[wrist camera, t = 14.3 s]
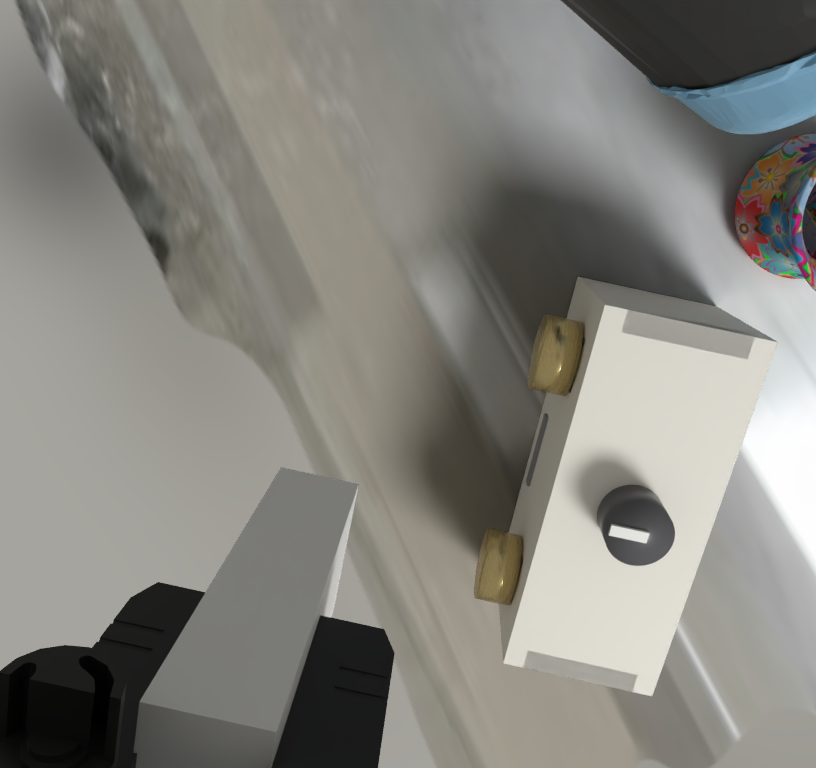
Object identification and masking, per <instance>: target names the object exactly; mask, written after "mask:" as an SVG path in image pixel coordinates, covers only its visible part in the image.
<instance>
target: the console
mask: <svg viewBox="0 0 816 768" xmlns="http://www.w3.org/2000/svg"><path fill="white" fill-rule="evenodd" d="M567 319H571V320H576V321H581V322H582V325H583V339H582V342H585V343H584V346H583V350H582V353H581V357H580V360H579V364H578V368H577V371H576V375H575V378H574V379H573V382H572V384H571V387H570V389H569V391H568V392H567V394H566V395H565V396H560V395H555V394H551V393H546V396H545V400H544V404H543V407H542V411H541V415H540V418H539V422H538V426H537V429H536V433H535V437H534V441H533V444H532V448H531V452H530V455H529V459H528V463H527V466H526V470H525V474H524V477H523V481H522V485H521V489H520V492H519V496H518V500H517V503H516V507H515V511H514V514H513V518H512V522H511V526H510V529H509V533H513V534H518V535H520V536H521V538H522V554H523V564H522V568H521V571H520V575H519V578H518V582H517V585H516V589H515V591H514V594H513V597H512V599H511V602H510V603H509V605H503V604H499V612H500V626H501V639H502V653H503V663H505V664H509V665H514V666H518V667H523V668H527V669H532V670H536V671H541V672H545V673H550V674H554V675H559V676H563V677H568V678H572V679H577V680H581V681H586V682H590V683H595V684H599V685H604V686H608V687H613V688H617V689H622V690H626V691H631V692H635V693H640V694H644V695H649V696H652V695H653V692H654V689H655V687H656V684H657V681H658V678H659V675H660V673H661V670H662V667H663V664H664V661H665V659H666V656H667V653H668V650H669V647H670V644H671V642H672V639H673V636H674V633H675V630H676V628H677V625H678V622H679V619H680V616H681V614H682V611H683V608H684V605H685V602H686V600H687V597H688V594H689V591H690V588H691V585H692V583H693V580H694V577H695V574H696V571H697V569H698V566H699V563H700V560H701V557H702V555H703V552H704V549H705V546H706V543H707V541H708V538H709V535H710V532H711V529H712V526H713V524H714V521H715V518H716V515H717V512H718V510H719V507H720V504H721V501H722V498H723V496H724V493H725V490H726V487H727V484H728V482H729V479H730V476H731V473H732V470H733V468H734V465H735V462H736V459H737V456H738V453H739V451H740V448H741V445H742V442H743V439H744V437H745V434H746V431H747V428H748V425H749V423H750V420H751V417H752V414H753V411H754V409H755V406H756V403H757V400H758V397H759V394H760V392H761V389H762V386H763V383H764V380H765V378H766V375H767V372H768V369H769V366H770V364H771V361H772V358H773V355H774V352H775V350H776V347H777V344H778V342H777V341H775V340H773V339H772V338H770V337H768V336H767V335H765V334H763V333H761V332H760V331H758V330H756V329H755V328H753V327H751V326H749V325H748V324H746V323H744V322H743V321H741V320H739V319H737V318H736V317H734V316H732V315H730V314H729V313H727V312H725V311H724V310H722V309H720V308H718V307H717V306H712V305H707V304H703V303H698V302H693V301H689V300H684V299H679V298H675V297H670V296H666V295H661V294H656V293H652V292H647V291H642V290H638V289H633V288H628V287H624V286H619V285H615V284H610V283H605V282H601V281H596V280H591V279H587V278H582V277H578V278H577V282H576V285H575V289H574V293H573V296H572V300H571V304H570V307H569V311H568V315H567ZM624 485H640V486H643V487H646V488H648V489H650V490H651V491H653V492H654V493H655V494H656V495H657V496H658V498H659V499H660V501H661V502H662V504H663V506H664V508H665V509H666V511H667V513H668V515H669V516H670V518H671V520H672V522H673V524H674V528H675V539H674V542H673V545H672V547H671V549H670V550H669V552H668V553H667V554H666V555H665V556H664V557H663V558H661V559H660V560H658V561H657V562H654V563H652V564H649V565H644V566H633V565H628V564H625V563H622V562H620V561H619V560H617V559H616V558H614V557H613V556H612V555H611V553H610V552H609V550H608V548H607V546H606V544H605V541H604V538H603V535H602V533H601V530H600V527H599V524H598V520H597V511H598V507H599V505H600V503H601V501H602V499H603V498H604V497H605V496H606V495H607V494H608V493H609V492H610V491H612V490H613V489H615V488H618V487H620V486H624Z"/></svg>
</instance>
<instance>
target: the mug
mask: <svg viewBox="0 0 816 768" xmlns="http://www.w3.org/2000/svg"><path fill="white" fill-rule="evenodd" d="M735 224H736V230H737V234H738V237H739V240H740V242H741V244H742V246H743V248H744V249H745V251H746V253H747V254H748V255H749V256H750V258H751V259H752V260H753V261H754V262H755V263H756V264H758V265H759V266H760V267H762V268H763V269H765V270H766V271H768V272H770V273H773V274H775V275H778V276H782V277H786V278H793V279H806V281H807V282H808V283H809V285H810V286H811V287H812V288H813V289H814V290H815V291H816V133H810V134H804V135H800V136H796V137H793V138H790V139H788V140H786V141H784V142H782V143H780V144H778V145H776V146H775V147H773V148H772V149H770V150H769V151H768V152H767V153H765V154H764V155H763V156H762V157H761V158H760V159H759V160H758V161H757V162H756V163H755V164H754V166H753V167H752V168H751V169H750V171H749V172H748V174H747V175H746V177H745V179H744V181H743V183H742V185H741V187H740V190H739V193H738V196H737V200H736V206H735Z"/></svg>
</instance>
